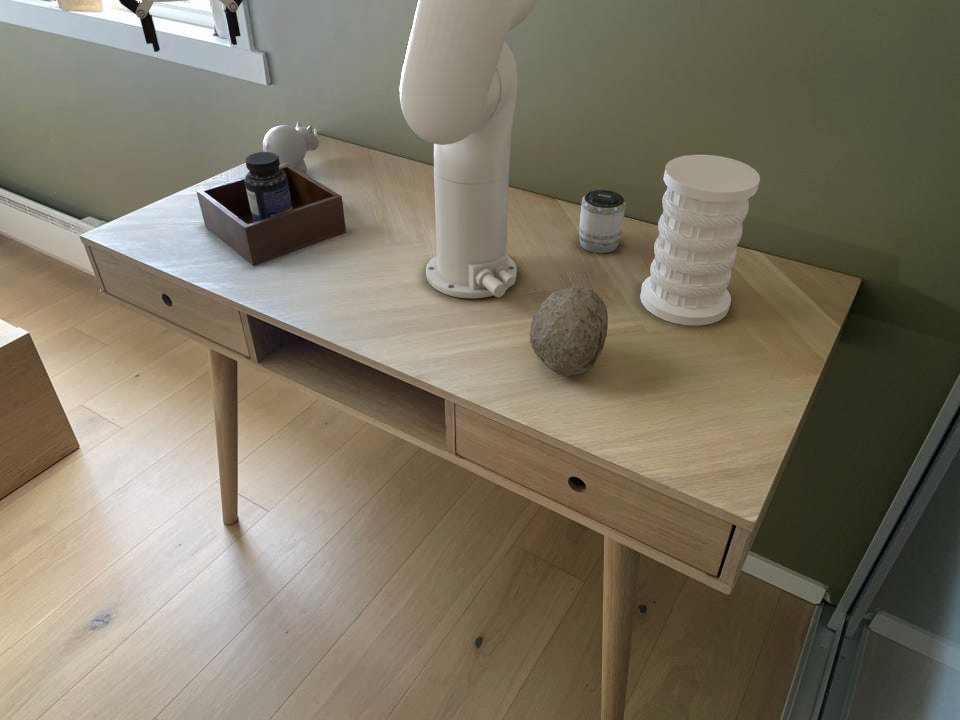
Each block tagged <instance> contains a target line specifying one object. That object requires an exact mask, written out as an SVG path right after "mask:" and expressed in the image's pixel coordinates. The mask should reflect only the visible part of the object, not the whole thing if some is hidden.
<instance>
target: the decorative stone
mask: <svg viewBox="0 0 960 720" xmlns="http://www.w3.org/2000/svg"><path fill="white" fill-rule="evenodd" d="M608 326H609V315H608V309H607V306H606V304H605V302H604V301H603V299H602V298H601V297H600V296H599V294H598V293H597V292H595V291H594V290H593V289H591V288H587V287H584V286H577V285H575V286H570V287H566V288H562V289H559V290H556V291H553V292H552V293H550V294H549V295H548V297H546V299H545V300H543V302H542V303H540V306H538V308H537V310H536V313H534V315H533V316H532V320H531V324H530V330H529V343H530V346H531V348H532V351H533V352H534V354H535V355H536V356H537V358H538V359H539V360H540V361H541V363H542V364H544V366H546V367H547V368H548V369H550V371H552V372H553V373H556V374H557V375H562V376H567V377H568V376H569V377H570V376H576V375H579V374H582V373H585V372H586V371H589V370H590V369H592V368H593V367H594V365H595V364H596V363H597V361H598V360H599V358H600V356H601V355H602V352H603V349H604V346H605V343H606V338H607V334H608V328H609V327H608Z"/></svg>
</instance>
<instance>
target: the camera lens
mask: <svg viewBox="0 0 960 720" xmlns="http://www.w3.org/2000/svg"><path fill="white" fill-rule="evenodd" d="M626 205H627V202H626V199H625V198H624V197H623V196H622V195H621V194H620V193H618V192H615V191H613V190H608V189H596V190H591V191H588V192H587V193H586V194H584V195H583V197H582V198H581V205H580V207H581V208H580V216H579V227H578V239H579V244H580V247H582V249H584V250H586V251H588V252H591V253H594V254H606V253H611V252H613V251H615V250H616V249H618V246H619V243H620V242H621V241H620V240H621V237H622V234H623V224H624V218H625V210H626Z"/></svg>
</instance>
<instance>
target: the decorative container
mask: <svg viewBox="0 0 960 720" xmlns="http://www.w3.org/2000/svg"><path fill="white" fill-rule="evenodd" d="M662 179H663V182H664V185H666V186H667V187H666V190H665V192H664V194H663V196H662V200H661V202H662V206H661V207H662V209H663V210H662V213H661V215H660V217H659V219H658V223H657V228H658V229H657V230H658V236H657V238H656V240H655V241H654V243H653V250H654V251H653V252H654V258H653V260H652V262H651V264H650V268H649V272H650V275H649V276H648V277H646V278H645V279H644V280H643V282H642V284H641V289H640V295H639V300H640V302H641V304H642V306H643V307H644V308H645V310H646V311H648V312H650V313H651V314H652V315H654V316H655V317H657V318H659V319H661V320H664V321H667V322H669V323H673V324H676V325H682V326H694V327H695V326H696V327H697V326H705V325H711V324H715V323H717V322H719V321H721V320H722V319H723V318H725V317H726V316H727V314H729V310H730V308H731V303H732V296H731V294H730V292H729V290H728V289H727V288H728V286H729V285H730V283H731V279H732V272H731V269H732V268H733V266H734V265H735V261H737V257H738V256H737V253H738V252H737V246H738V245H739V243H740V241H741V238H743V222H744V221H745V220H746V219H747V216H748V214H749V210H750V206H749V205H750V203H749V199H750V198H752V197H754V196H755V195H756V193H757V192H758V189H759V185H760V182H761V176H760V174H759V173H758V172H757V169H755V168H753V167H752V166H751V165H748V164H747V163H744V162H742V161H740V160H737V159H733V158H730V157H725V156H721V155H713V154H689V155H687V154H686V155H682V156H678V157H675V158H673V159H670V160H669V161H668V162H667V163H666V164H665V169H664V174H663V178H662Z"/></svg>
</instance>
